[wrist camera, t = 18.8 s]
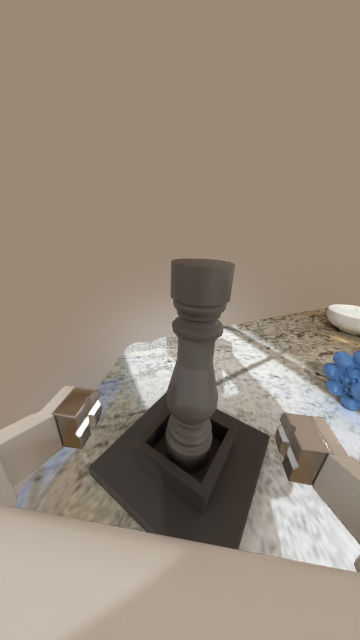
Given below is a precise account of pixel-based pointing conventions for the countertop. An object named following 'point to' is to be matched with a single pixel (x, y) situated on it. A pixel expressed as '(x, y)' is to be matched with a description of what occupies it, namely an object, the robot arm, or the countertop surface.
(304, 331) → the countertop surface
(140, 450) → the display stand
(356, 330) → the cereal bowl
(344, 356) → the grapes
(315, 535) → the countertop surface
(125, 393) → the countertop surface
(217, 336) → the candle holder
